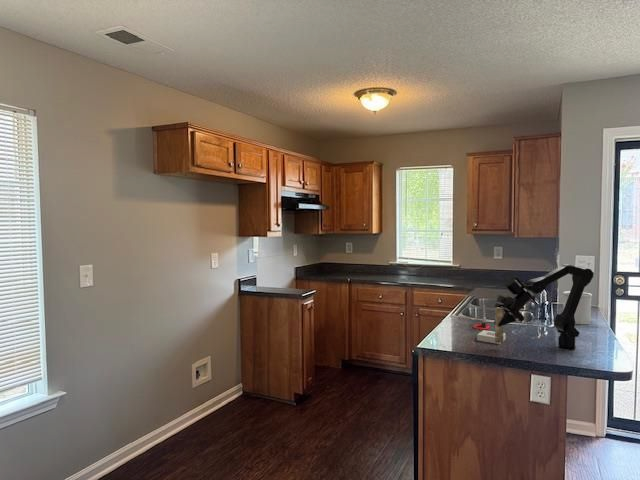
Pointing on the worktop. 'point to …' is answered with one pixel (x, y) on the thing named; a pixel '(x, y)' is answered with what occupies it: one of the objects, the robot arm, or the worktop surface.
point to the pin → (498, 329)
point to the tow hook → (482, 322)
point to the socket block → (488, 336)
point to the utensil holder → (581, 308)
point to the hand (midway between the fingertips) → (496, 324)
